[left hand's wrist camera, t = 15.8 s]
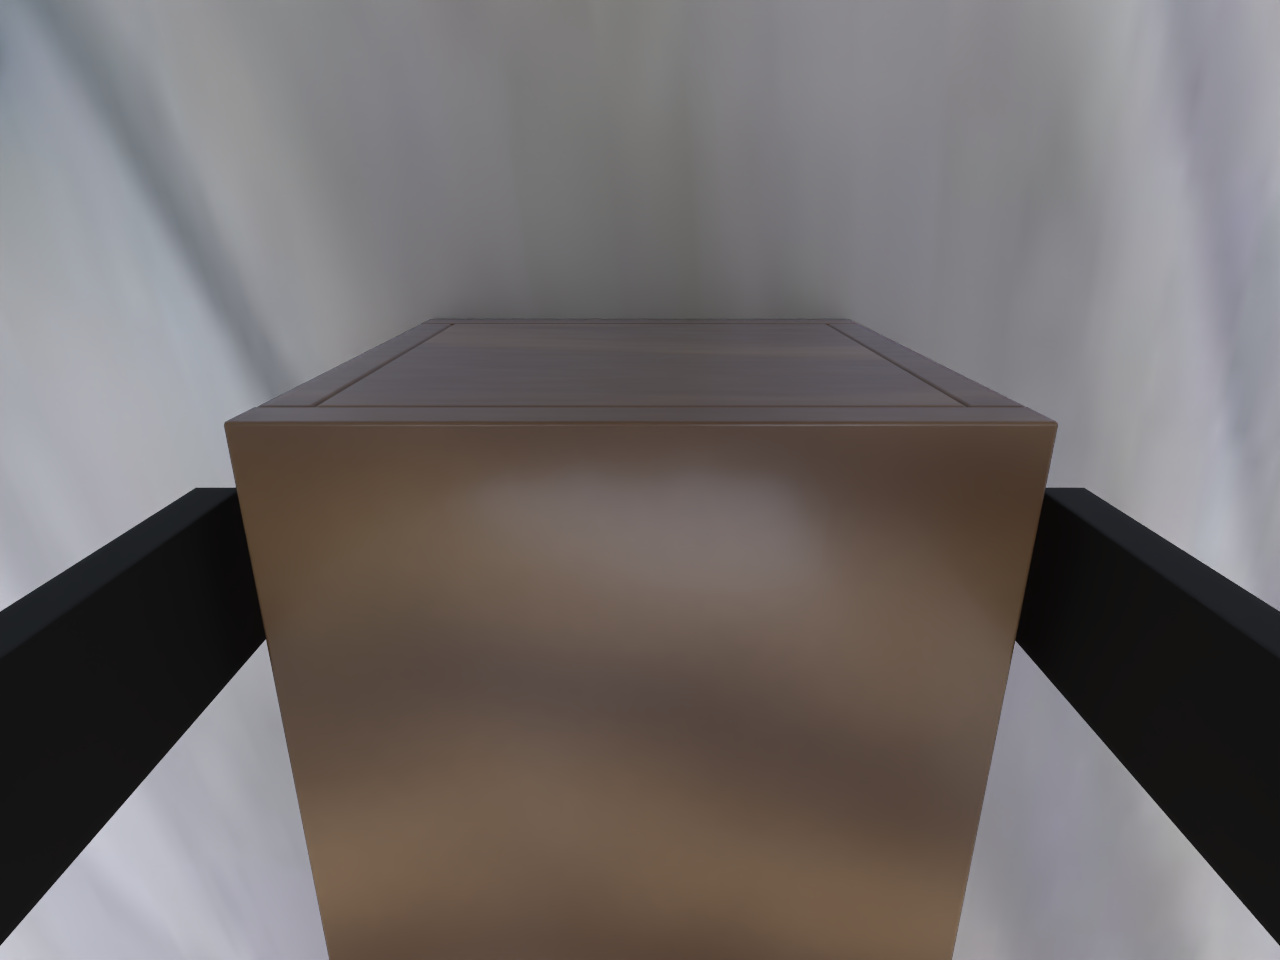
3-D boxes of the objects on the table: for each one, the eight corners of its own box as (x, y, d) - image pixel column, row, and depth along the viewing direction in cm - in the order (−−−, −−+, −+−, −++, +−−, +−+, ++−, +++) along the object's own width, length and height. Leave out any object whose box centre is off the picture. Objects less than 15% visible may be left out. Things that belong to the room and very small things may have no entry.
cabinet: (795, 906, 27) (884, 1303, 17) (484, 906, 27) (396, 1304, 17) (851, 318, 20) (1060, 421, 10) (428, 319, 20) (221, 422, 10)
